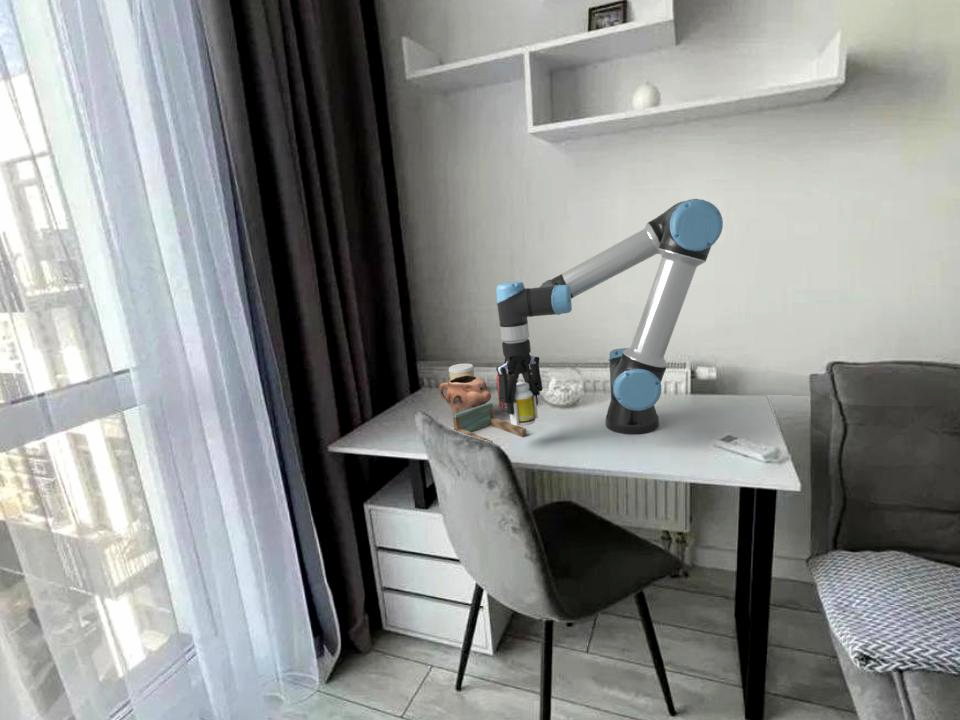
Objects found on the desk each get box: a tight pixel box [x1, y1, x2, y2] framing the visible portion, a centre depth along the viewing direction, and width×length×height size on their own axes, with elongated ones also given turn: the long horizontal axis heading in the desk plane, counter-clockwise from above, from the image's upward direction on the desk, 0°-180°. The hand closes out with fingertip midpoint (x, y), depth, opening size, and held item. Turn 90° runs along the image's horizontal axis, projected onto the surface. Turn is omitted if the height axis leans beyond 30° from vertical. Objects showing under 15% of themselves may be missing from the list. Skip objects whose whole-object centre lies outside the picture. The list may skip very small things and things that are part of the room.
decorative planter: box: [438, 375, 492, 415], centre depth 180 cm, size 20×12×14 cm, turn 63°
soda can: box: [496, 369, 519, 412], centre depth 187 cm, size 7×7×13 cm
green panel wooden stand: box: [452, 401, 527, 443], centre depth 164 cm, size 17×14×7 cm
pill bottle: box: [514, 381, 536, 427], centre depth 153 cm, size 6×6×11 cm
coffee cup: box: [448, 363, 475, 381], centre depth 204 cm, size 9×9×12 cm
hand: (524, 420), depth 154 cm, fingers closed on pill bottle, 6 cm apart
